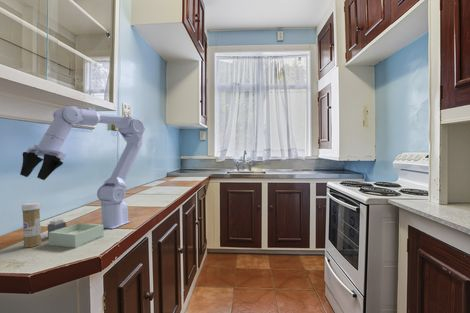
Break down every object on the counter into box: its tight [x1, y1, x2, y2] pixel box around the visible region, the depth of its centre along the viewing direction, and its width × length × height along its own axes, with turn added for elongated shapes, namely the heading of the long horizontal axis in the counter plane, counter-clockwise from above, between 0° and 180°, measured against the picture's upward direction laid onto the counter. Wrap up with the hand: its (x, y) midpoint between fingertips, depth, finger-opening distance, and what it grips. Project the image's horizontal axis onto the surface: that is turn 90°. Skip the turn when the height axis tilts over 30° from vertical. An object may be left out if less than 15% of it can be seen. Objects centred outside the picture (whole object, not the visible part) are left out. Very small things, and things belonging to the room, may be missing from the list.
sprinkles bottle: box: [21, 201, 42, 248], centre depth 85 cm, size 5×5×14 cm
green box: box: [47, 222, 105, 249], centre depth 88 cm, size 11×11×4 cm
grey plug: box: [47, 218, 67, 239], centre depth 94 cm, size 4×4×6 cm
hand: (32, 177), depth 82 cm, fingers open, 7 cm apart
